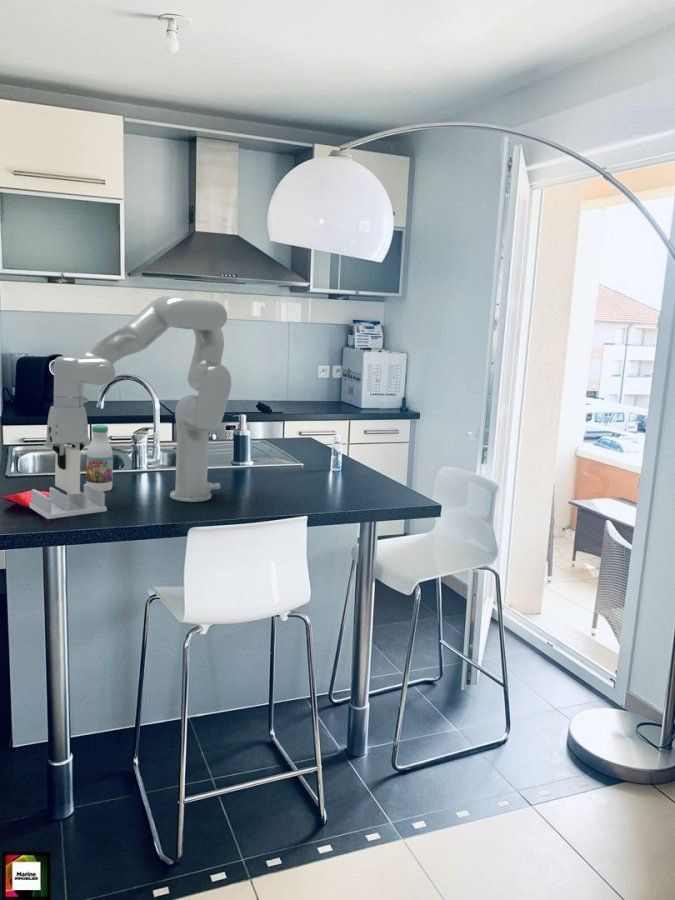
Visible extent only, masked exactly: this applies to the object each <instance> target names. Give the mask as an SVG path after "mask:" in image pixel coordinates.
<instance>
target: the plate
mask: <svg viewBox="0 0 675 900" xmlns="http://www.w3.org/2000/svg"><path fill="white" fill-rule="evenodd" d="M81 451H82V450H81ZM81 451H80V450H78V449H76V448H73V447H71V446H70V444H64V455H65V456H66V468H65V470H63V469H61V468H59V466H58V464H57V458H58V454H57V453H56V452H54V455H55V458H54V459H55V462H54V463H55V466H54V467H55V469H54V473H55V474H54V476H55V477H54V483H55V484H54V486H55V487H57V488H58V489H60V490H62V491H64V492H66V493H67V492H68V493H70V494H80V491H81Z"/></svg>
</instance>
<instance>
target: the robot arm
mask: <svg viewBox="0 0 675 900" xmlns="http://www.w3.org/2000/svg"><path fill="white" fill-rule="evenodd" d="M227 320H228V312H227V309H226V308H225V307H224V305H223V304H221V303H220V302H218V301H214V300H205V299H192V298H184V297H177V296H159V297H157V298H156V299H154V300H152V302H150V303H149V304H148V305H147V306H146V307H144V308H143V309H142V310H141V311H140V312H138V313H137V315H136V316H134V317H133V318H132V319H130V320H129V321H128V322H127V323H126V324H125V325H124V326H122V327H120V328H119V329H117V330H115V331H114V332H112V333H110V334H109V335H108V336H106V337H104V338H102V339H101V340H99V342H97V343H96V344H94V345H93V346H92V347H91V348H90V349H89V350H88V351H86V352H85V353H84V354H83V355H82V356H81V357H77V356H68V355H67V356H65V355H63V356H62V355H61V356H57V357H56V358H55V359H54V361H53V362H54V363H53V406H50V409H49V411H48V418H47V424H46V426H47V427H46V440H45V442H44V444H43V445H44V447H46V448H49V449H51V450H53V452H54V453H57V454H58V458H57V464H58V466H59V468H61V469H63V470H65V468H66V456H65V455H64V444H67V445H71V447H73V448H76V449H78V450H80V451H82V450H83V449H84V448H85V447H89V445H90V443H91V440H90V438H89V437H90V436H89V427H88V426H89V425H88V424H89V423H88V416H87V409H86V407H85V406H84V405H85V404H86V403H88V401H89V398H88V397H85V396H84V384H88V385H96V386H104V385H108V384H110V383H111V382H112V381H113V380H114V379H115V375H116V369H115V366H114V364H116V363H117V362H118V361H119V360H121V359H123V358H124V357H127V356H130V355H134V354H137V353H140V352H141V351H144V350H146V349H147V348H149V346H151V345H152V344H153V343H155V341H156V340H157V339H159V337H161V336H162V335H163V334H164V333H165V332H167V330H169V329H170V328H174V329H175V328H176V329H183V330H193V333H194V338H195V343H194V344H195V345H194V349H193V354H192V358H191V363H190V366H189V370H188V374H187V383H188V386H189V387H190V388H192V389H193V390H194V391H196V392H198V394H196V395H195V394H189V395H185V396H182V398H181V399H179V400H178V402H177V403H176V405H175V409H174V410H175V411H174V418H175V423H176V424H175V425H176V426H175V427H176V457H175V458H176V460H175V461H176V462H175V486H174V487H175V490H172V491H170V493H169V497H170V498H171V499H172V500H175V501H178V502H183V503H184V502H185V503H197V502H205V501H208V500H210V499H211V498H212V490H219V489H221V484H220V482H215V483H212V482H209V481H208V465H209V464H208V463H209V443H210V442H209V433H210V432H212V431H215V430H216V429H218V427H219V426H220V425H221V423H222V421H223V419H224V416H225V412H226V408H227V405H228V401H229V396H230V393H231V392H230V391H231V389H232V377H231V373H230V371H229V370H228V368H227V367H225V366H224V365H222V360H223V359H222V358H223V353H224V349H225V348H224V347H225V338H224V334H223V330H222V328H223V327H224V326H225V324H226V323H227Z"/></svg>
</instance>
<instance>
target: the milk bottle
mask: <svg viewBox="0 0 675 900" xmlns="http://www.w3.org/2000/svg"><path fill="white" fill-rule="evenodd" d="M91 431H92V432H91V433H92V437H91V438H92V439H91V440H90V442H91V443H90V444H89V445H88V446H87V451H86V471H85V472H86V478H85V482H86V483H85V484H88V485H90V486H92V487H94V488H96V489H98V490H100V491H102V492H109V491H111V490H113V471H114V470H113V467H114V465H113V459H114V458H113V457H114V456H113V449H112V447H111V443H110V441H109V438H108V433H109V432H108V431H109V427H108V425H104V424H95V425H92V429H91Z"/></svg>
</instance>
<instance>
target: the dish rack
mask: <svg viewBox="0 0 675 900" xmlns="http://www.w3.org/2000/svg"><path fill="white" fill-rule="evenodd" d="M48 489H49V494H48V495H49V496H47V495H45V494H43V493H41V492H40V491H38V490H37V489H35V488H34V489H31V491H30V492H31V493H30V494H31V497H30V498H31V502H29V505H28V507H29V508H30V509H32V510H33V511H34V512H36V513H37V514H39V515H40V516H42V517H43V518H45V519H47V520H51V519H57V518H65V517H73V516H74V517H75V516H80V515H88V514H94V513H95V514H96V513H103V512H107V511H108V510H107V508H108V507H107V506H105V501H106V500H105V499H106V498H105V496H106V493H105V491H103V492H102V491H100V490H98V489H96V488H94V487H92V486H90V485H88V484H86V483H83V491H81V490H80V494H70V493H68V492H66V494H65V493H63V492H61V491H59V490H58V489H56V488H54V487H49V488H48Z"/></svg>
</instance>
